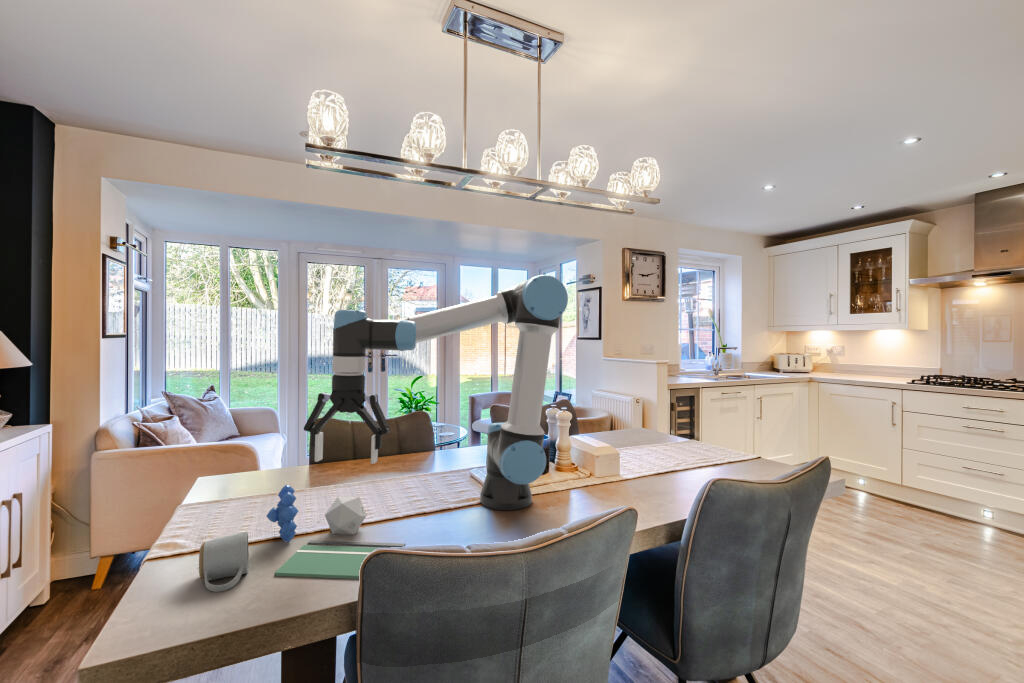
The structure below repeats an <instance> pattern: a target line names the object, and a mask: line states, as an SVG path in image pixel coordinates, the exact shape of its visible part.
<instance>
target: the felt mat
mask: <svg viewBox="0 0 1024 683" xmlns="http://www.w3.org/2000/svg"><path fill="white" fill-rule="evenodd" d="M378 548H379V547H374V546H346V545H318V544H303V545H302V546H301V547H299V549H297V550H296V552H294V553H293V555H291V556H290V558H288V559H287V561H284V563H283V564H282V565H281V566H280V567H279V568H277V570H276V571H275V572H274V576H275V577H296V578H297V577H299V578H302V577H305V578H325V579H327V578H328V579H351V580H352V579H353V580H360V579H359V570H360V566H361V563H362V562H363V560H364V558H365V557H366V556H367V555H368V554H369V553H370V552H372V551H373V550H375V549H378Z"/></svg>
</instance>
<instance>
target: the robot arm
mask: <svg viewBox="0 0 1024 683" xmlns="http://www.w3.org/2000/svg"><path fill="white" fill-rule="evenodd" d="M568 296H569V295H568V292H567V288H566V286H565V285H564V284H563V283H562V281H561V280H560V279H558V278H557V277H556V276H555V277H554V276H552V275H549V274H538V275H535V276H534V275H533V276H532V277H529V279H527V280H524V281H521V282H519V283H517V284H515V285H513V286H512V287H510V288H509V287H508V288H507V289H504V290H500V291H497V292H496V294H495V295H494V296H490V297H485V298H482V299H477V300H473V301H469V302H466V303H461V304H456V305H453V306H448V307H444V308H440V309H435V310H431V311H428V312H425V313H420V314H416V315H412V316H411V315H410V316H408V317H403V318H401V319H399V318H398V319H373V318H368V314H367V313H368V312H366V311H365V310H359V309H358V310H356V309H355V310H354V309H339V310H337V311H336V312H334V318H333V319H334V320H333V328H332V330H333V331H332V335H333V336H332V366H331V367H332V368H331V369H332V370H331V371H332V373H333V375H332V376H331V393H327V392H326V391H324V392H320V393H319V394H318V395H317V402H316V403H315V405H314V408H313V410H312V411H311V413H310V415H309V416H308V419H307V420H306V423H305V425H304V426H303V431H305V432H308V433H310V435H311V447H312V448H314V462H316V463H318V462H320V461H322V460H323V456H324V454H323V453H324V432H323V431H322V429H323V428H324V427H325V426H326V425H327V424H328V422H330V420H331V419H332V418H333V417H334V416H335V415H336V413H338V412H339V413H348V414H349V413H350V414H354V413H356V414H357V415H359V417H360V418H361V419H362V420H363V422H364V423H365V425H367V427H368V428H369V429H370V431H371V432H372V434H374V435H372V436H371V439H370V440H371V441H370V442H371V443H370V444H371V446H370V464H371V465H373V464H376V463H377V462H378V459H379V458H378V457H379V456H378V455H379V453H378V452H379V450H380V449H381V448H382V446H383V435H386V434H388V433H389V432H391V428H390V425H389V423H388V422H387V418H386V417H385V414H384V412H383V410H382V407H381V406H380V404H379V396H378V394H377V393H373V394H368V395H366V393H365V389H366V386H365V384H366V376H365V374H364V373H366V356H367V355H366V353H367V352H366V351H367V350H370V351H372V350H380V351H381V350H382V351H400V352H405V351H413V350H415V348H416V345H417V343H418V344H419V343H422V342H426V341H430V340H434V339H437V338H441V337H446V336H450V335H453V334H457V333H461V332H466V331H470V330H473V329H474V330H475V329H476V328H478V329H479V328H481V327H485V326H489V325H493V324H497V323H500V322H501V323H503V324H505V325H506V324H511V323H514V324H515V326H516V327H517V329H518V331H519V334H518V335H519V336H518V340H517V341H518V342H517V348H516V356H515V357H516V358H515V364H514V370H513V377H512V385H511V392H510V393H511V394H510V400H509V408H508V415H507V421H504V422H494V423H493V422H492V423H490V424H489V425H487V426H488V427H487V433H486V436H487V445H486V446H487V448H486V449H487V450H486V475H485V479H484V481H483V485H482V488H481V490H480V493H479V494H480V495H479V501H480V503H481V505H483V506H484V507H486V508H487V509H488V508H489V509H493V510H498V511H516V510H518V511H519V510H522V509H526V508H528V507H529V506H531V505H532V502H533V494H532V490H531V487H530V484H531V483H534V482H535V481H536V480H538V479H539V478H540V477H541V476H542V475H543V473H544V472H545V469H546V466H547V456H546V453H545V452H546V451H545V450H544V448H543V446H544V442H545V441H544V439H545V438H544V437H545V434H546V433H545V431H544V429H543V428H542V427H541V419H542V418H541V417H542V410H543V404H544V395H545V390H546V388H545V387H546V382H547V374H548V365H549V360H550V352H551V343H552V338H553V335H554V334H555V333H556V332H558V331H559V327H560V321H561V316H563V314H564V312H565V311H566V309H567V306H568V303H569V297H568ZM329 400H330V401H331V403H332V404H333V405H332V406H330V408H329V409H328V411H327V412H325V414H324V415H323V416H322V418H321V419H320V420H319V421H318V422H317V420H318V418H319V417H320V415H321V414H322V411H323V409H324V407H325V406H326V404H327V402H329ZM365 402H367V403H368V405H369V406H370V409H371V411H372V412H373V414H374V417H375V419H376V420H375V419H374V418H373V417H372V415H371V414H370V413H369V411H368V410H367V408H366V407H365V405H364V403H365ZM376 421H377V422H376ZM316 422H317V423H316Z"/></svg>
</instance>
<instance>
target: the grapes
mask: <svg viewBox="0 0 1024 683" xmlns="http://www.w3.org/2000/svg"><path fill="white" fill-rule="evenodd" d="M294 493H295V489H294V488H293V487H292V486H291V485H289V484H286V485H284V486H283V487H282V488H281V490H280V491H279V492H278V495H277V496H278V498H279V499H280V500H279V501H278V503H277V504H276V507H275V506H274V507H272V508H270V510H269V511H268V512H267V514H266V518H267V519H268V520H269V521H270V522H271V523H272V522H273V523H277V526H279V528H280V529H279V531H278V534H279V537H280V538H281V539H282V540H283V541H284V542H286V543H289V542H291V540H293V539H294V537H295V535H296V534H297V532H296V531H295V530H296V529H297V527H298V525H297V524H296V523H295V522H294V520H295V518H296V516H297V514H298V512H299V509H298V508H297V507H296V506H295V505H294V503H295V501H296V500H297V497H296V496H295V495H294Z"/></svg>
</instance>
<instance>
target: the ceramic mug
mask: <svg viewBox="0 0 1024 683" xmlns="http://www.w3.org/2000/svg"><path fill="white" fill-rule="evenodd" d="M249 554H250V551H249V532H248V531H244V532H239V533H238V532H237V533H236V534H235V533H234V534H231V535H228V536H223V537H216V538H213V539H209V540H207V541H205V542H203V543H202V544H201V545H200V547H199V555H198V573H199V579H200V580H202V581H204V583H205V584H204V585H205V587H206V589H207V590H208V591H210V592H214V593H219V592H224V591H228V590H230V589H231V588H233V587H235V586H236V585H237V583H238V582H239V581H240V579H241V577H242V575H245V574H248V573H249V566H250V565H249V562H250V560H249V558H250V555H249ZM228 577H233V579H231V580H230V581H228V582H227V583H223V584H219V585H215V584H212V583H211V582H209V581H213V580H218V579H223V578H228Z"/></svg>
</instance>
